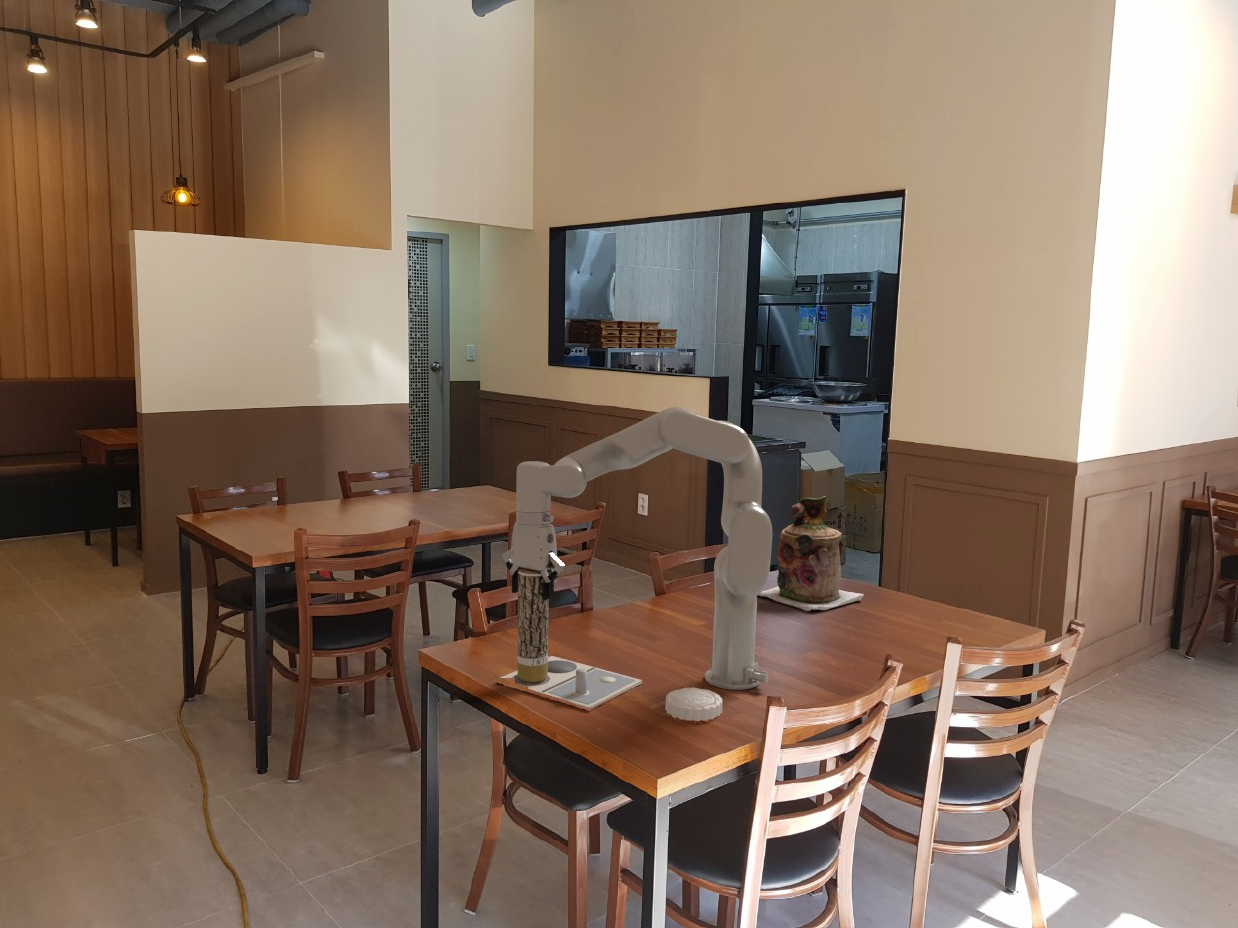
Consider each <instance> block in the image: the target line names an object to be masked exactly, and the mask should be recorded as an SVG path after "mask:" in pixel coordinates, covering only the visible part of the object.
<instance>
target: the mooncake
mask: <svg viewBox="0 0 1238 928" xmlns="http://www.w3.org/2000/svg"><path fill="white" fill-rule="evenodd" d="M665 710H666V711H667V712H666V711H665ZM665 710H664V711H665V712H666V714H667V713H668V714H671V715H672V716H673V717H678V718H679V719H686V720H695V721H700V720H708V719H713V718H715V717H716V716H720V714H721V713H722V714H723V698H722V697H721V695H719V694H718V693H716V692H714V691H711V690H710V689H703V688H697V687H695V686H694V687H684V688H680V689H675V690H672V691H670V692H668V693H667V694H666V696H665ZM668 714H667V715H668ZM720 717H721V716H720Z"/></svg>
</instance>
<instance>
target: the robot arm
mask: <svg viewBox="0 0 1238 928" xmlns="http://www.w3.org/2000/svg"><path fill="white" fill-rule="evenodd" d="M673 449H675V450H678V451H680V452H682V453H686V454H689V455H693V456H696V457H700V458H703V459H706V460H710V461H714V462H716V463H720V464H721V466H722V469H723V470H722V471H723V478H724V479H723V496H722V498H723V499H722V508H721V516H720V524H721V528H722V530H723V532H724V533H725V535H726V536H727V537H728V540H727V541H728V542H727V546H725V547H723V548H721V550H720V551H719V552H718V554H717V556H716V558H715V560H714V565H713V566H714V567H713V579H714V582H713V583H714V615H713V634H712V636H713V638H712V642H713V643H712V663H711V668H710V669H708V670H706V672H705V673H704V680H705V681H706V682H707V683H708V684H709V685H711V686H713V687H716V688H720V689H724V690H725V689H726V690H731V691H732V690H733V691H734V690H735V691H742V690H749V689H753V688H756V687H757V686H759V684H760V683H764V684H768V682H769V680H770V677H769V672H768V671H766V670H761V669H759V662H755V655H756V654H755V652H756V649H755V648H756V629H757V611H758V610H757V609H758V597H757V596H759V595H758V594H760V593H761V592H762V591H765V588H766V586H767V584H768V581H769V576H770V572H771V571H770V569H771V558H772V557H771V556H772V547H773V546H772V544H773V526H772V521H771V519H770V516H769V514H768V513H767V512H766V511H765V510H764V509H763V507H762V506H763V505H762V497H763V496H762V495H763V467H762V462H761V459H760V458H761V457H760V456H759V453H758V450H757V447H756V446H755V445H754V443H753V441H752V440H751V439H750V438H749V435H748V433H747V432H746V431H745V430H744V429H743V428H741V427H740V426H739V425H735V424H734V423H732V422H729V421H727V420H715V419H712V418H708V417H706V416H702V415H699V414H696V413H694V412H692V411H688V410H686V409H685V408H682V407H679V406H672V407H668V408H664V409H662V410H661V411H659V412H657V413H655V414H653V415H650V416H648V417H646V418H645V419H642V420H641V421H639V422H636V423H635V424H633V425H630V426H629V427H626V428H624V429H622V430H620V431H618V432H615V433H614V434H611V435H609V436H606V437H604V438H603V439H601V440H598V441H596V442H595V441H594V442H593V443H591V444H590V443H589V444H588V445H586V446H584V447H582V448H580V449H577V450H576V451H574V452H572V453H570V454H568V455H566V456H564V457H562V458H560V459H559V460H558V461H557V462H555V463H554V464H553V465H551V464H549V463H548V462H545V461H544V462H543V461H536V460H535V461H532V460H531V461H530V460H529V461H522V462H521V463H519V464H518V465H517V467H516V502H515V503H516V505H515V506H516V509H515V511H516V512H515V513H516V515H515V517H516V518H515V522H514V525H513V530H512V535H511V544H510V549H508V550H507V551H505V552H504V553H502V558H503V561H504V562H505V567H506V568H507V569H508V573H509V575H510V576H511V593H512V594H516V593H517V594H518V570H519V569H520V568H525V569H530V570H535V571H540V572H541V574H542V576H543V578H544V580H545V582H543V584H542V599H543V600H548V599H549V600H550V599H552V598H554V596H555V595H554V593H555V581H556V580H557V579H558V578H559V577H560V575H561V573H562V571H563V570H564V568H565V566H566V565H565V564H564V562H563V561H562V560H560V558H558V548H557V547H558V546H557V538H556V537H557V536H556V531H555V527H554V525H553V524H551V523H552V522H554V516H553V515H551V513H552V511H551V509H552V508H551V506H552V504H551V503H552V502H551V501H552V497H551V496H553V497H561V498H567V499H568V498H569V499H571V498H575V497H578V496H580V495H581V494H582V493H583V492H584V491H585V489H586V487H587V485H588V483H587V482H589V481H592V480H594V479H596V478H597V477H600V476H602V475H605V474H607V473H610V472H615V471H620V470H621V471H622V470H629V469H633V468H636V467H639V466H640V465H643V464H645V463H647V462H648V461H650V460H651V459H654V458H655V457H657V456H660V455H662V454H664V453H667V452H669V451H671V450H673ZM547 571H548V573H549V575H548V573H547Z"/></svg>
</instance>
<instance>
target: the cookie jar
mask: <svg viewBox="0 0 1238 928" xmlns="http://www.w3.org/2000/svg"><path fill="white" fill-rule="evenodd" d="M826 500H827V496H826V495H824V496H822V497H819V498H817V497H816V498H814V497H805V498H802V499H800V500H799V501H798V503H795V504H794V505H792V506H791V507H790V508H791V509H790V515H791V517H794V518H795V520H794V522H793V523H792V524H790V525H788V526H786V527H785V528H783V530H781V532H780V536H779V538H780V539H779V543H778V546H777V560H778V561H779V562H778V566H777V571H778V575H777V578H776V579H777V580H776V582H777V586H774V587H772V588H769V589H766V590H765V589H764V590H763V591H762V592H761V593H760V594H758V595H757V596H760V597H764V598H769V599H771V600H772V601H775V602H778V603H782V604H785V605H787V606H792V607H794V608H798V609H799V610H800V609H801V610H803V611H805V612H810V611H811V610H819V611H820V610H821V611H827V610H830V609H832V608H837V607H839V606H844V605H847V604H850V603H854V602H859V601H861V600H862V598H863V597H864V593H857V592H851V591H850V592H849V591H845V590H841V589H839V588H840V583H841V577H842V566H841V552H840V546H839V542H840V540H841V539H842V536H843V533H842V532H840V531H839V530H838V529H834V528H831V527H830V526H829V527H828V526H827V525H826V523H824V519H825V516H826V513H827V511H828V510H826V507H827V505H826Z"/></svg>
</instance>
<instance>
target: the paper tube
mask: <svg viewBox="0 0 1238 928" xmlns="http://www.w3.org/2000/svg"><path fill="white" fill-rule="evenodd" d="M547 573H548V571H547ZM548 575H549V573H548ZM543 582H545V580H544V578H543V576H542V574H541V572H540V571H535V570H530V569H525V568H520V569H519V570H518V592H517V670H518V678H519V679H520V680H521V681H523V682H528V683H537V682H541V681H544V680H545V679H546V678H547V676H548V657H549V611H550V609H549V607H550V606H549V605H550V604H549V600H550V599H548V600H543V599H542V584H543Z"/></svg>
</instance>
